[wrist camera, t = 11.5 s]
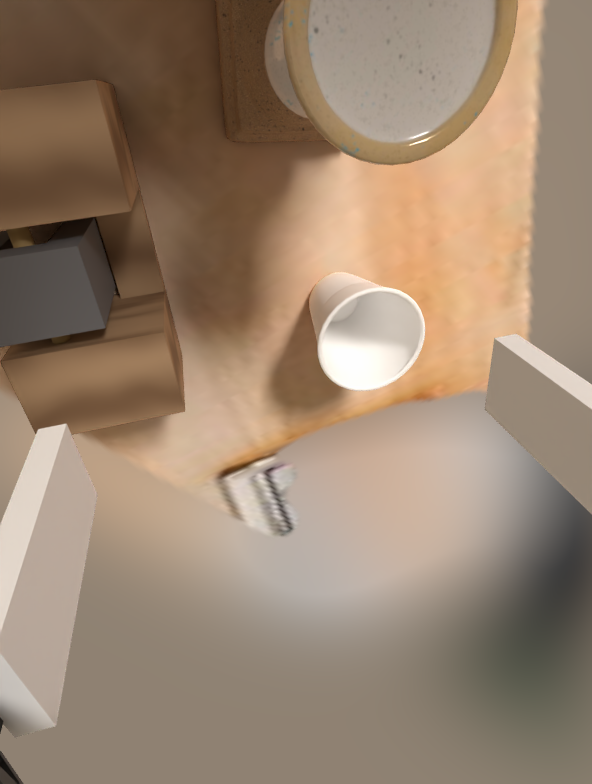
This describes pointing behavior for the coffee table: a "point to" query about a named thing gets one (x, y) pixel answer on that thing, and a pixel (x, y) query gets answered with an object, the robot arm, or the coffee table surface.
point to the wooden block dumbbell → (124, 249)
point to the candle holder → (361, 71)
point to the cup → (364, 331)
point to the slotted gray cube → (54, 285)
